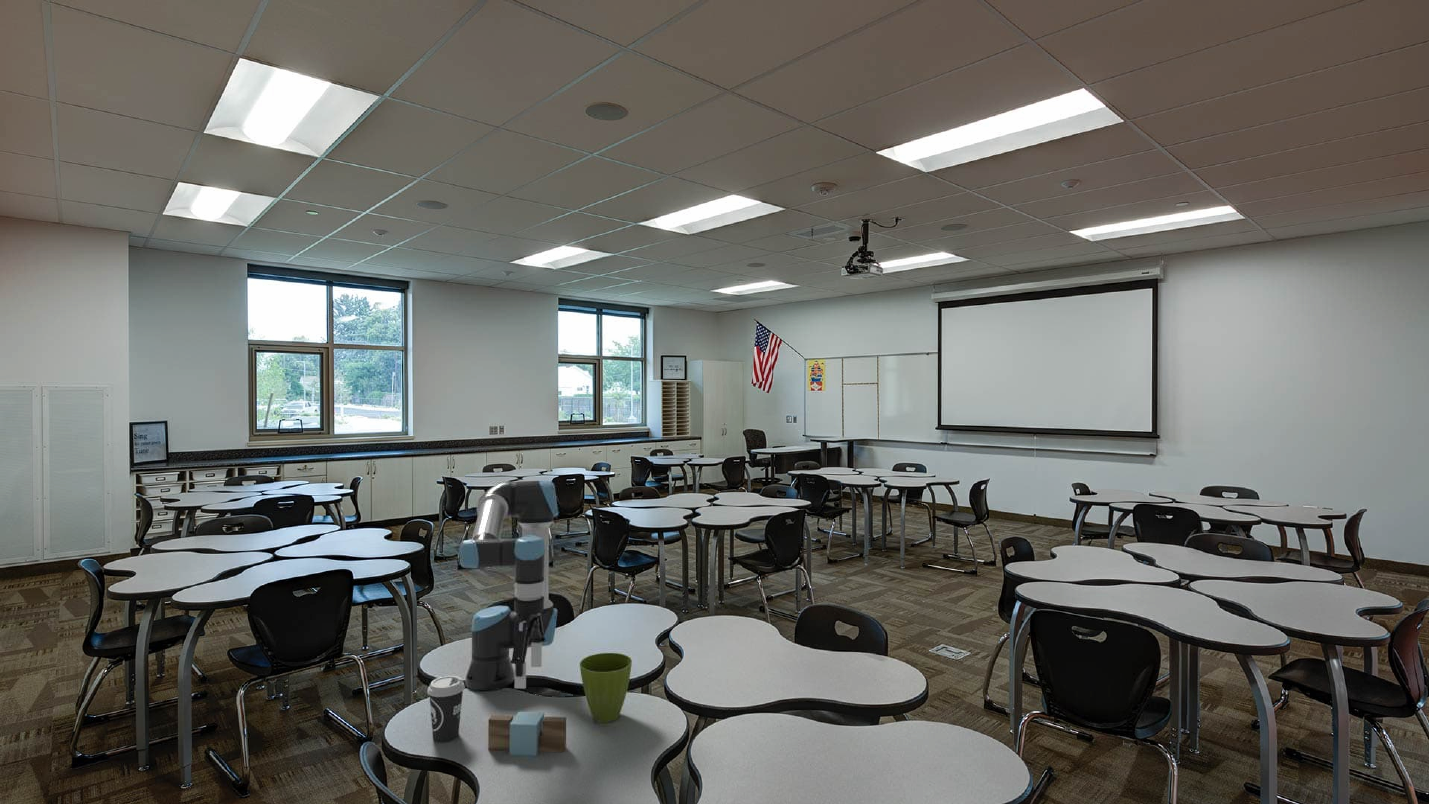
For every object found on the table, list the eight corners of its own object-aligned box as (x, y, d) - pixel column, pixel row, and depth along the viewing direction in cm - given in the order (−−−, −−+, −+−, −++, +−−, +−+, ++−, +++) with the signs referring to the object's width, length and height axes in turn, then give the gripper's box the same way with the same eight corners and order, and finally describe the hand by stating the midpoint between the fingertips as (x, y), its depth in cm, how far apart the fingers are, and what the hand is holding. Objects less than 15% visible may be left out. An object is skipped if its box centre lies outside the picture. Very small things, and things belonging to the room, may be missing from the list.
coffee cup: (451, 747, 180) (452, 690, 180) (419, 743, 182) (419, 687, 182) (471, 730, 190) (471, 676, 190) (440, 726, 192) (440, 673, 192)
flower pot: (569, 723, 194) (569, 667, 194) (596, 701, 208) (597, 649, 208) (614, 733, 189) (615, 675, 189) (640, 710, 203) (641, 657, 203)
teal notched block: (518, 741, 184) (518, 711, 184) (544, 742, 184) (544, 712, 184) (509, 754, 177) (509, 724, 177) (536, 755, 177) (536, 725, 177)
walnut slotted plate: (491, 745, 182) (491, 715, 182) (566, 747, 181) (566, 717, 181) (488, 749, 179) (488, 719, 179) (563, 752, 179) (564, 721, 179)
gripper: (529, 583, 193) (529, 658, 193) (498, 611, 168) (497, 697, 168) (556, 583, 193) (555, 658, 193) (528, 612, 168) (527, 698, 168)
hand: (528, 676), depth 180 cm, fingers open, 13 cm apart
